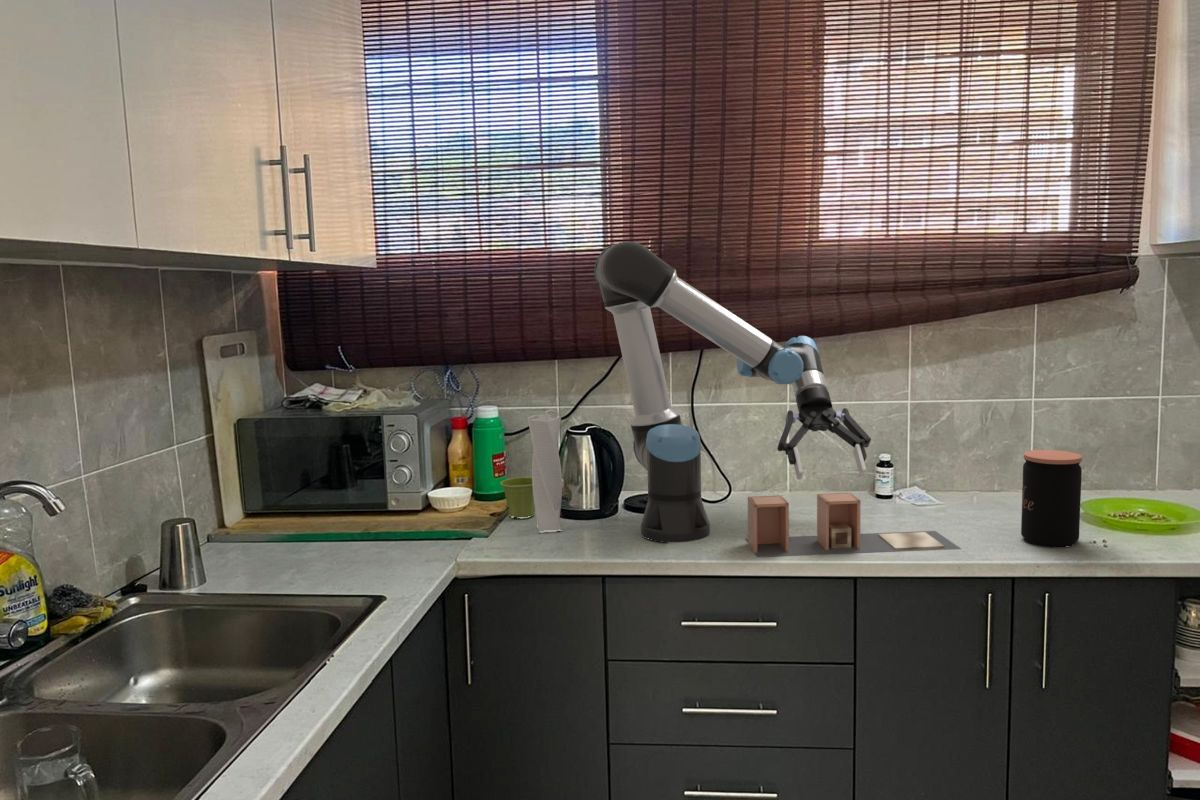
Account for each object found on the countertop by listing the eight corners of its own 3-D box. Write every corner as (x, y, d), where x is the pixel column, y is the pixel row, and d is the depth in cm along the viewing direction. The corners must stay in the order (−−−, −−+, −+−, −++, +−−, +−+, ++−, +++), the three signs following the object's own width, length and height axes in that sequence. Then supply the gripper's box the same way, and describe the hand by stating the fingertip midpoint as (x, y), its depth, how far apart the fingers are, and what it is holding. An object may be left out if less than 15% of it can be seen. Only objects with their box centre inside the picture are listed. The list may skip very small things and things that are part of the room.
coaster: (895, 549, 178) (895, 547, 178) (878, 535, 188) (878, 534, 188) (944, 547, 178) (944, 545, 178) (924, 533, 188) (924, 532, 188)
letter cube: (831, 548, 180) (831, 529, 180) (826, 542, 184) (826, 523, 184) (851, 547, 180) (851, 528, 180) (845, 541, 184) (845, 523, 184)
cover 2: (825, 550, 179) (825, 501, 178) (817, 540, 186) (817, 494, 184) (860, 548, 179) (860, 500, 178) (850, 539, 186) (850, 492, 184)
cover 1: (754, 552, 179) (753, 504, 177) (748, 543, 185) (747, 496, 184) (788, 551, 179) (788, 503, 178) (781, 542, 185) (781, 495, 184)
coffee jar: (1025, 531, 189) (1028, 448, 187) (1082, 538, 183) (1085, 452, 180) (1015, 543, 180) (1018, 457, 178) (1074, 551, 174) (1078, 461, 172)
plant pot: (509, 523, 208) (507, 487, 207) (497, 514, 217) (495, 480, 216) (546, 518, 212) (545, 482, 211) (533, 509, 221) (531, 475, 219)
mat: (757, 559, 176) (757, 557, 176) (744, 540, 189) (744, 538, 189) (961, 550, 177) (961, 548, 177) (935, 532, 190) (935, 530, 190)
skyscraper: (568, 533, 199) (563, 409, 195) (535, 536, 197) (530, 411, 193) (562, 524, 206) (557, 405, 203) (530, 527, 205) (525, 407, 201)
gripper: (862, 402, 206) (884, 480, 193) (755, 407, 205) (771, 486, 192) (870, 382, 200) (893, 462, 187) (760, 387, 199) (776, 467, 186)
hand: (831, 474), depth 190 cm, fingers open, 13 cm apart
